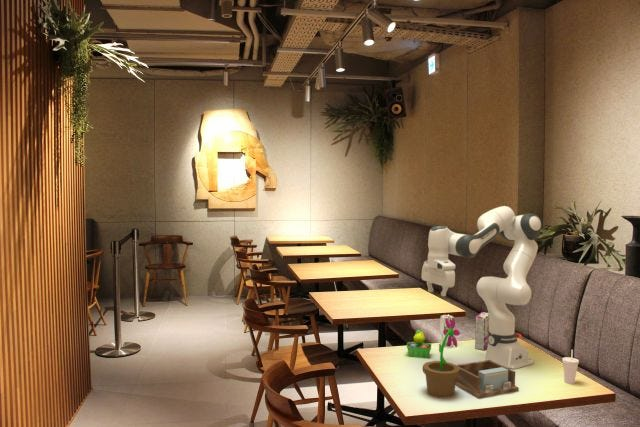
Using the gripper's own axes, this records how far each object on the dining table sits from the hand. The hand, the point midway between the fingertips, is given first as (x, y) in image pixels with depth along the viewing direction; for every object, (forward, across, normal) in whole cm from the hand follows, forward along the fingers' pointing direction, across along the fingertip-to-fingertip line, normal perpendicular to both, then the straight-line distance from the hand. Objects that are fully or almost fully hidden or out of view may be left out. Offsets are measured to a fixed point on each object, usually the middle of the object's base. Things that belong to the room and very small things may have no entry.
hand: (436, 293), depth 245 cm
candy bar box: (+33, -16, +40) cm, 55 cm away
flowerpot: (+34, +25, -15) cm, 44 cm away
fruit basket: (+33, -17, +3) cm, 38 cm away
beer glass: (+33, -24, +24) cm, 48 cm away
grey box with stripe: (+32, +32, +5) cm, 45 cm away
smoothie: (+33, +36, +42) cm, 65 cm away
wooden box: (+33, +27, +5) cm, 43 cm away
